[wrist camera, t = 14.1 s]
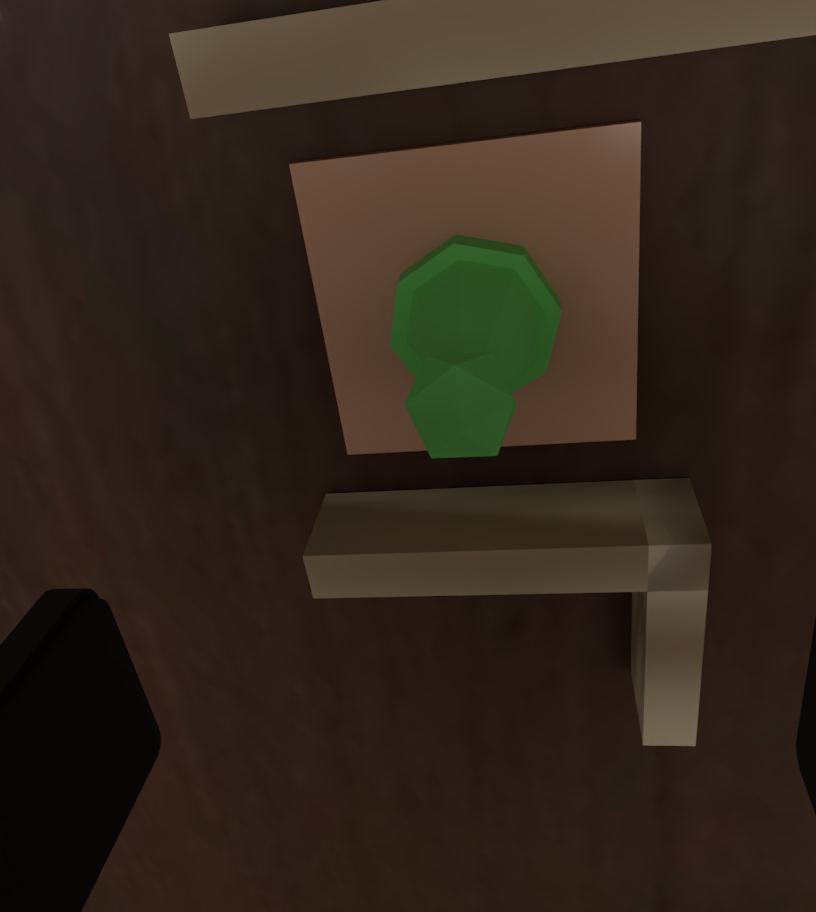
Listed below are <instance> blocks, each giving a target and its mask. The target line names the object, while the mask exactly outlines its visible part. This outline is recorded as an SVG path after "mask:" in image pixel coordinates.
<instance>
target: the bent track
mask: <svg viewBox="0 0 816 912" xmlns="http://www.w3.org/2000/svg"><path fill="white" fill-rule="evenodd" d="M811 35H816V0H381V1H375V2H368V3H362V4H355V5H349V6H342V7H336V8H330V9H323V10H317V11H310V12H304V13H298V14H291V15H285V16H278V17H272V18H265V19H259V20H253V21H246V22H240V23H233V24H227V25H221V26H214V27H208V28H202V29H196V30H190V31H183V32H177V33H171V34H169V36H170V40H171V44H172V48H173V52H174V56H175V60H176V64H177V68H178V72H179V76H180V79H181V83H182V87H183V91H184V95H185V99H186V103H187V107H188V111H189V115H190V119H195V118H203V117H210V116H217V115H225V114H232V113H240V112H247V111H254V110H262V109H269V108H277V107H284V106H292V105H299V104H306V103H314V102H321V101H329V100H336V99H344V98H351V97H358V96H366V95H373V94H381V93H388V92H395V91H403V90H410V89H418V88H425V87H433V86H440V85H447V84H455V83H462V82H470V81H477V80H485V79H492V78H499V77H507V76H514V75H522V74H529V73H536V72H544V71H551V70H559V69H566V68H574V67H581V66H588V65H596V64H603V63H611V62H618V61H626V60H633V59H640V58H648V57H655V56H663V55H670V54H677V53H685V52H692V51H700V50H707V49H715V48H722V47H729V46H737V45H744V44H752V43H759V42H767V41H774V40H781V39H789V38H796V37H804V36H811ZM289 167H290V172H291V177H292V182H293V187H294V192H295V197H296V202H297V207H298V211H299V216H300V221H301V226H302V231H303V236H304V241H305V246H306V251H307V256H308V261H309V266H310V271H311V276H312V281H313V286H314V291H315V296H316V301H317V306H318V310H319V315H320V320H321V325H322V330H323V335H324V340H325V345H326V350H327V355H328V360H329V365H330V370H331V375H332V380H333V385H334V390H335V395H336V400H337V405H338V410H339V414H340V419H341V424H342V429H343V434H344V439H345V444H346V449H347V454H348V455H353V454H372V453H391V452H410V451H427V449H426V447H425V445H424V443H423V441H422V439H421V437H420V435H419V433H418V431H417V429H416V427H415V425H414V423H413V421H412V419H411V417H410V415H409V413H408V411H407V409H406V407H405V405H404V403H405V401H406V399H407V397H408V395H409V393H410V391H411V389H412V386H413V384H414V382H415V380H416V378H415V377H414V375H413V374H412V373H411V372H410V370H409V369H408V368H407V367H406V365H405V364H404V363H403V362H402V360H401V359H400V358H399V357H398V355H397V354H396V353H395V352H394V350H393V349H392V348H391V347H390V339H391V331H392V324H393V316H394V308H395V301H396V293H397V286H398V281H399V279H400V276H401V274H402V272H404V271H405V270H407V269H408V268H409V267H411V266H412V265H414V264H415V263H416V262H418V261H419V260H421V259H422V258H423V257H425V256H426V255H428V254H429V253H430V252H432V251H433V250H435V249H436V248H437V247H439V246H440V245H442V244H443V243H445V242H446V241H447V240H449V239H450V238H452V237H453V236H454V235H462V236H468V237H474V238H480V239H486V240H492V241H498V242H504V243H509V244H515V245H521V246H524V247H525V249H526V250H527V251H528V253H529V254H530V256H531V257H532V259H533V260H534V262H535V263H536V265H537V266H538V268H539V269H540V271H541V272H542V274H543V275H544V277H545V278H546V280H547V281H548V282H549V284H550V285H551V287H552V288H553V290H554V291H555V293H556V294H557V296H558V297H559V299H560V301H561V309H562V313H561V316H560V320H559V324H558V328H557V332H556V336H555V340H554V344H553V348H552V352H551V356H550V360H549V364H548V368H547V372H546V373H545V374H543V375H542V376H540V377H538V378H537V379H535V380H533V381H532V382H530V383H528V384H527V385H525V386H523V387H521V388H520V389H518V390H516V391H515V392H513V393H512V394H513V396H514V398H515V402H516V406H517V407H516V410H515V412H514V415H513V417H512V420H511V422H510V425H509V427H508V430H507V432H506V435H505V437H504V440H503V442H502V445H501V447H504V446H523V445H542V444H560V443H579V442H598V441H617V440H636V407H637V348H638V289H639V230H640V171H641V121H640V120H632V121H623V122H615V123H607V124H599V125H591V126H582V127H574V128H566V129H558V130H550V131H541V132H533V133H525V134H517V135H508V136H500V137H492V138H484V139H476V140H467V141H459V142H451V143H443V144H434V145H426V146H418V147H410V148H402V149H393V150H385V151H377V152H369V153H361V154H352V155H344V156H336V157H328V158H319V159H311V160H303V161H295V162H291V163H290V164H289ZM711 548H712V543H711V540H710V537H709V534H708V531H707V528H706V525H705V522H704V519H703V516H702V513H701V510H700V507H699V504H698V501H697V498H696V495H695V493H694V490H693V487H692V484H691V481H690V478H669V479H646V480H624V481H601V482H579V483H556V484H534V485H511V486H489V487H466V488H443V489H421V490H398V491H376V492H353V493H331V494H326V495H325V498H324V500H323V503H322V506H321V508H320V511H319V514H318V516H317V519H316V522H315V524H314V527H313V530H312V532H311V535H310V538H309V540H308V543H307V546H306V548H305V551H304V554H303V560H304V564H305V568H306V572H307V576H308V579H309V583H310V587H311V591H312V595H313V598H359V597H408V596H457V595H506V594H555V593H604V592H632V627H631V674H632V680H633V687H634V693H635V699H636V705H637V712H638V718H639V724H640V730H641V736H642V743H643V745H649V746H696V735H697V722H698V710H699V698H700V685H701V673H702V660H703V648H704V635H705V623H706V610H707V598H708V585H709V573H710V561H711Z"/></svg>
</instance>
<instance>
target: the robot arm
mask: <svg viewBox="0 0 816 912" xmlns="http://www.w3.org/2000/svg"><path fill="white" fill-rule="evenodd" d="M160 743H161V736H160V730H159V727H158V725H157V722H156V720H155V717H154V715H153V712H152V710H151V708H150V705H149V703H148V700H147V698H146V695H145V693H144V690H143V688H142V685H141V683H140V680H139V678H138V675H137V673H136V670H135V668H134V665H133V663H132V660H131V658H130V656H129V653H128V651H127V648H126V646H125V643H124V641H123V638H122V636H121V633H120V631H119V628H118V626H117V623H116V621H115V618H114V616H113V613H112V611H111V608H110V606H109V604H108V603H107V602H106V601H105V600H104V599H99V597H98V595H97V593H95V592H94V591H93V590H92V589H52V590H49V591H46V592H45V593H44V594H43V595H42V596H41V597H40V598H39V599H38V600H37V602H36V603H35V604H34V605H33V606H32V608H31V609H30V610H29V611H28V613H27V614H26V615H25V616H24V617H23V619H22V620H21V621H20V622H19V623H18V625H17V626H16V627H15V628H14V629H13V631H12V632H11V633H10V634H9V636H8V637H7V638H6V639H5V640H4V642H3V643H2V644H1V645H0V912H81V911H82V909H83V907H84V905H85V903H86V901H87V899H88V897H89V895H90V893H91V891H92V889H93V887H94V884H95V882H96V880H97V878H98V876H99V874H100V872H101V870H102V868H103V866H104V864H105V862H106V860H107V858H108V856H109V854H110V852H111V850H112V848H113V846H114V844H115V842H116V840H117V838H118V836H119V834H120V832H121V830H122V828H123V826H124V824H125V822H126V820H127V818H128V816H129V814H130V812H131V810H132V807H133V805H134V803H135V801H136V799H137V797H138V795H139V793H140V791H141V789H142V787H143V785H144V783H145V781H146V779H147V777H148V775H149V773H150V771H151V769H152V767H153V765H154V763H155V761H156V759H157V756H158V754H159V750H160ZM796 752H797V759H798V764H799V768H800V772H801V775H802V778H803V780H804V783H805V786H806V789H807V792H808V794H809V797H810V800H811V803H812V806H813V808H814V811H815V814H816V619H815V625H814V632H813V638H812V644H811V651H810V657H809V663H808V670H807V676H806V682H805V689H804V695H803V701H802V708H801V714H800V720H799V726H798V733H797V740H796Z"/></svg>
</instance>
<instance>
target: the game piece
mask: <svg viewBox="0 0 816 912" xmlns="http://www.w3.org/2000/svg"><path fill="white" fill-rule="evenodd" d="M561 313H562V309H561V301H560V299H559V297H558V296H557V294H556V293H555V291H554V290H553V288H552V287H551V285H550V284H549V282H548V281H547V280H546V278H545V277H544V275H543V274H542V272H541V271H540V269H539V268H538V266H537V265H536V263H535V262H534V260H533V259H532V257H531V256H530V254H529V253H528V251H527V250H526V249H525V247H524V246H521V245H515V244H509V243H504V242H498V241H492V240H486V239H480V238H474V237H468V236H462V235H454V236H453V237H452V238H450V239H449V240H447V241H446V242H445V243H443V244H442V245H440V246H439V247H437V248H436V249H435V250H433V251H432V252H430V253H429V254H428V255H426V256H425V257H423V258H422V259H421V260H419V261H418V262H416V263H415V264H414V265H412V266H411V267H409V268H408V269H407V270H405V271H404V272H402V274H401V276H400V279H399V281H398V286H397V293H396V301H395V308H394V316H393V324H392V331H391V339H390V347H391V348H392V349H393V350H394V352H395V353H396V354H397V355H398V357H399V358H400V359H401V360H402V362H403V363H404V364H405V365H406V367H407V368H408V369H409V370H410V372H411V373H412V374H413V375H414V377H415V378H416V380H415V382H414V384H413V386H412V389H411V391H410V393H409V395H408V397H407V399H406V401H405V403H404V405H405V407H406V409H407V411H408V413H409V415H410V417H411V419H412V421H413V423H414V425H415V427H416V429H417V431H418V433H419V435H420V437H421V439H422V441H423V443H424V445H425V447H426V449H427V451H428V453H429V455H430V457H431V458H456V457H482V456H497V455H498V452H499V450H500V447H501V445H502V442H503V440H504V437H505V435H506V432H507V430H508V427H509V425H510V422H511V420H512V417H513V415H514V412H515V410H516V407H517V406H516V402H515V398H514V396H513V394H512V393H513V392H515V391H516V390H518V389H520V388H521V387H523V386H525V385H527V384H528V383H530V382H532V381H533V380H535V379H537V378H538V377H540V376H542V375H543V374H545V373H546V372H547V368H548V364H549V360H550V356H551V352H552V348H553V344H554V340H555V336H556V332H557V328H558V324H559V320H560V316H561Z"/></svg>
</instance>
